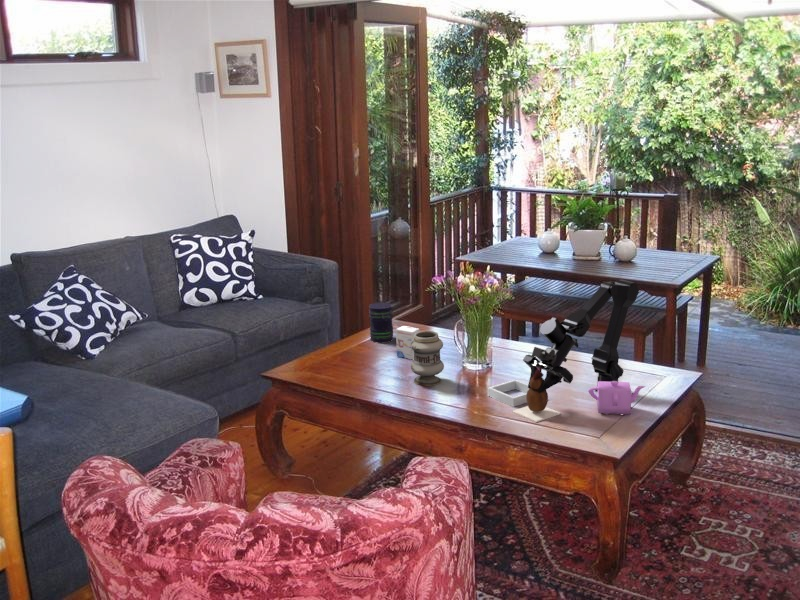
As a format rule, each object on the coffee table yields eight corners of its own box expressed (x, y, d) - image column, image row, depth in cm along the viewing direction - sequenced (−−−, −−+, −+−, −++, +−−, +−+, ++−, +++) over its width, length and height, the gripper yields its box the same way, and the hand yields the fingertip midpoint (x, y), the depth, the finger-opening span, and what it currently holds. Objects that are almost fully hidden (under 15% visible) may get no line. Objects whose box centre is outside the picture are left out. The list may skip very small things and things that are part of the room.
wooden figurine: (541, 405, 284) (541, 362, 280) (550, 411, 279) (550, 367, 275) (523, 408, 282) (523, 365, 278) (532, 414, 276) (532, 370, 273)
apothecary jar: (405, 384, 310) (404, 336, 305) (419, 373, 320) (418, 327, 316) (436, 388, 305) (435, 340, 300) (449, 377, 315) (448, 331, 311)
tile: (560, 414, 279) (560, 412, 279) (536, 422, 273) (536, 421, 273) (536, 404, 288) (536, 402, 288) (512, 412, 282) (512, 410, 282)
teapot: (642, 404, 285) (643, 375, 283) (646, 421, 272) (648, 390, 270) (586, 402, 288) (587, 374, 286) (588, 418, 275) (589, 389, 273)
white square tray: (541, 397, 294) (541, 389, 293) (513, 406, 286) (513, 398, 286) (515, 387, 304) (515, 379, 303) (487, 395, 297) (487, 387, 296)
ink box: (395, 356, 341) (395, 328, 338) (403, 353, 344) (402, 325, 342) (413, 360, 336) (413, 331, 333) (420, 356, 340) (420, 328, 337)
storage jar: (365, 340, 363) (364, 306, 359) (380, 334, 370) (379, 301, 366) (383, 344, 357) (381, 309, 353) (398, 338, 364) (397, 304, 360)
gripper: (527, 331, 284) (501, 369, 281) (567, 344, 269) (540, 385, 266) (544, 348, 290) (519, 386, 287) (584, 363, 275) (559, 403, 272)
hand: (533, 390), depth 278 cm, fingers closed on wooden figurine, 4 cm apart
